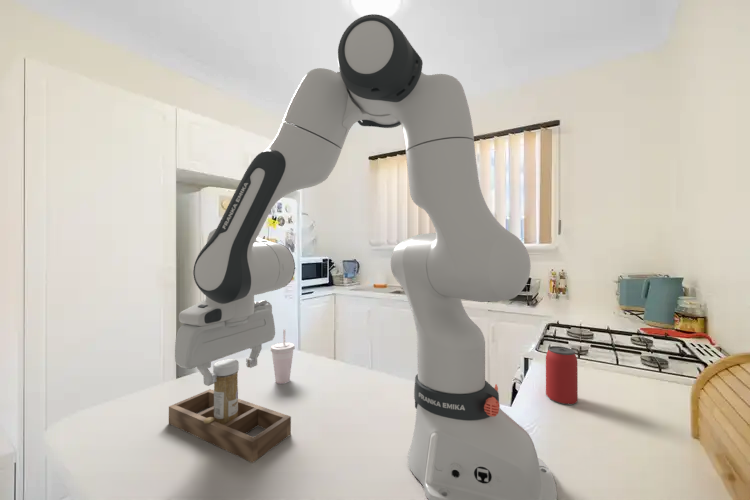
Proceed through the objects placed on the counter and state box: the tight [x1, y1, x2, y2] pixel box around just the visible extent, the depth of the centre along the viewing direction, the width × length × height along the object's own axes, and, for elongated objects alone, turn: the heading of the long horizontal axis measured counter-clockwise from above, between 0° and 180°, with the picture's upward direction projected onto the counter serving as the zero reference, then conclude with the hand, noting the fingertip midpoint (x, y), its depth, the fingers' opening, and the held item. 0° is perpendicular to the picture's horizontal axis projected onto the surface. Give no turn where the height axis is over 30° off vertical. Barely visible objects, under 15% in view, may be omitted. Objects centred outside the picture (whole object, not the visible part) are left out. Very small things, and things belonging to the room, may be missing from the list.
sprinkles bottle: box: [212, 358, 240, 425], centre depth 61 cm, size 5×5×14 cm
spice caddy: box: [168, 388, 292, 464], centre depth 61 cm, size 25×9×4 cm, turn 62°
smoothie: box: [270, 328, 295, 385], centre depth 84 cm, size 6×6×14 cm
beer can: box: [545, 345, 579, 406], centre depth 73 cm, size 7×7×12 cm
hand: (232, 374), depth 62 cm, fingers open, 8 cm apart
